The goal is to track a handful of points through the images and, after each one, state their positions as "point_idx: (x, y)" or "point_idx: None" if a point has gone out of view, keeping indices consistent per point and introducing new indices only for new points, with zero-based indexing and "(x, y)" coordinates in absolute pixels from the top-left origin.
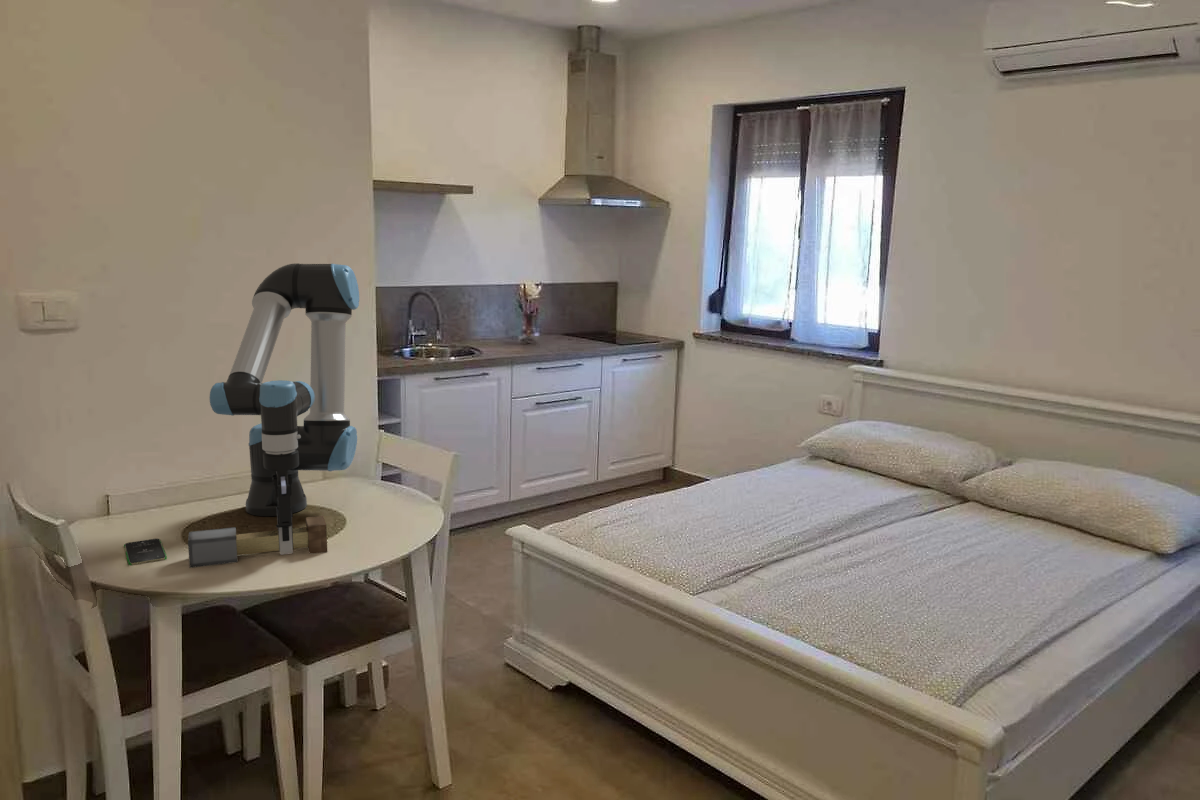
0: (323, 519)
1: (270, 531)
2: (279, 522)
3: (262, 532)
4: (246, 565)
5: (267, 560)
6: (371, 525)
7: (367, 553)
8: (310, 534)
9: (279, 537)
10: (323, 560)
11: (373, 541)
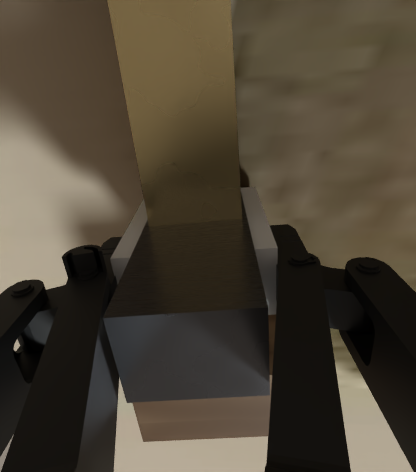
0: (229, 434)
1: (229, 180)
2: (30, 296)
3: (224, 132)
4: (47, 41)
5: (106, 140)
6: (384, 448)
7: (126, 429)
8: None
9: (126, 229)
10: None
11: (228, 445)
